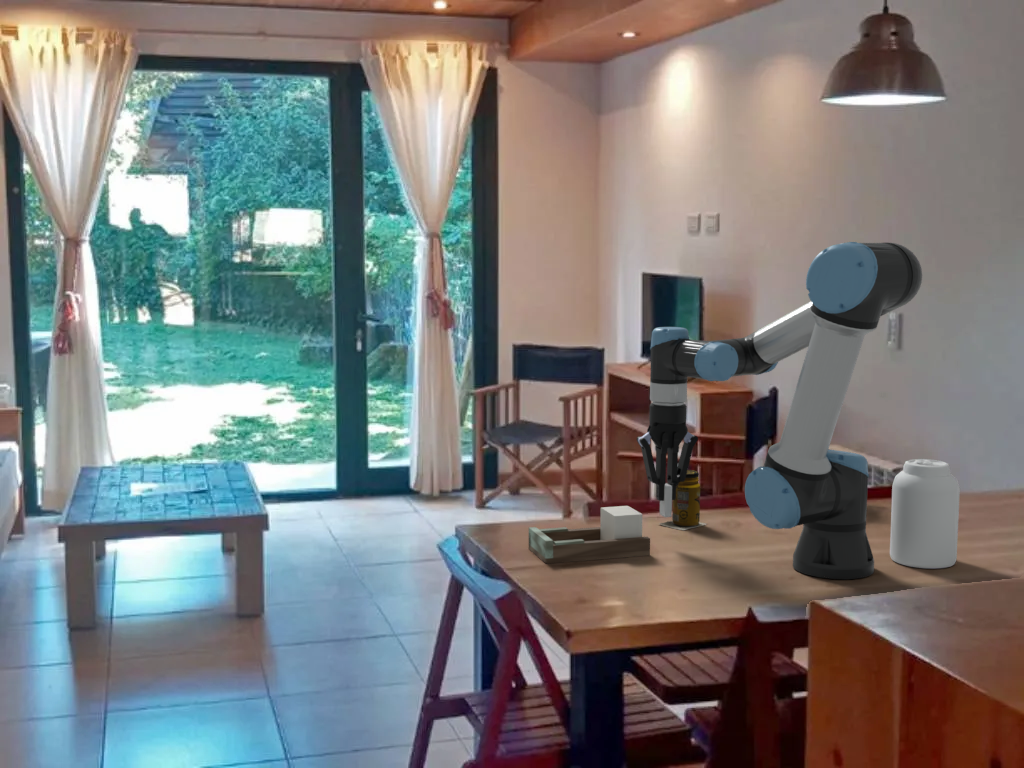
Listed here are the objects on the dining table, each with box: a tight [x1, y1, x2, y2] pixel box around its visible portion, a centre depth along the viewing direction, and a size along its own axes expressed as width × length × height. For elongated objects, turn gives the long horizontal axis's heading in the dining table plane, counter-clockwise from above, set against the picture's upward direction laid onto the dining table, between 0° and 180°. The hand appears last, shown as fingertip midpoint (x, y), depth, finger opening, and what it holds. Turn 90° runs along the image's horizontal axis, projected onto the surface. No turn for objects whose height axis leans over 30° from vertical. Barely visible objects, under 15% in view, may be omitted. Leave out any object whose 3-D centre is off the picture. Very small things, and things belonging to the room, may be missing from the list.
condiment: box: [658, 469, 707, 531], centre depth 265 cm, size 7×8×12 cm
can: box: [889, 458, 961, 570], centre depth 235 cm, size 12×12×20 cm
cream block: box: [599, 505, 643, 540], centre depth 244 cm, size 8×6×7 cm
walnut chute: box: [528, 526, 651, 565], centre depth 243 cm, size 12×22×4 cm, turn 106°
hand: (665, 515), depth 247 cm, fingers closed
